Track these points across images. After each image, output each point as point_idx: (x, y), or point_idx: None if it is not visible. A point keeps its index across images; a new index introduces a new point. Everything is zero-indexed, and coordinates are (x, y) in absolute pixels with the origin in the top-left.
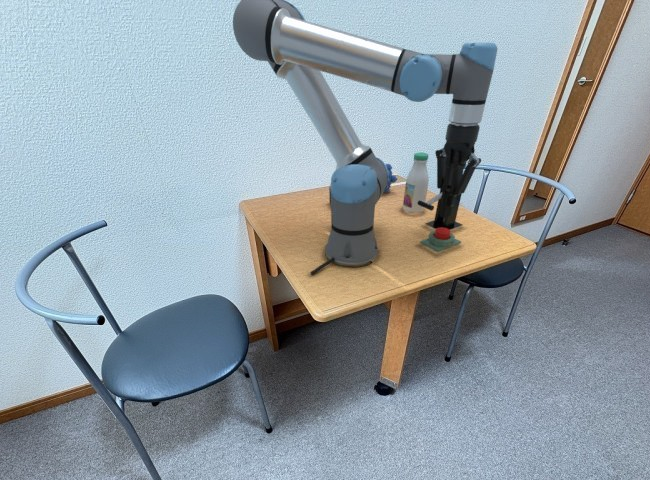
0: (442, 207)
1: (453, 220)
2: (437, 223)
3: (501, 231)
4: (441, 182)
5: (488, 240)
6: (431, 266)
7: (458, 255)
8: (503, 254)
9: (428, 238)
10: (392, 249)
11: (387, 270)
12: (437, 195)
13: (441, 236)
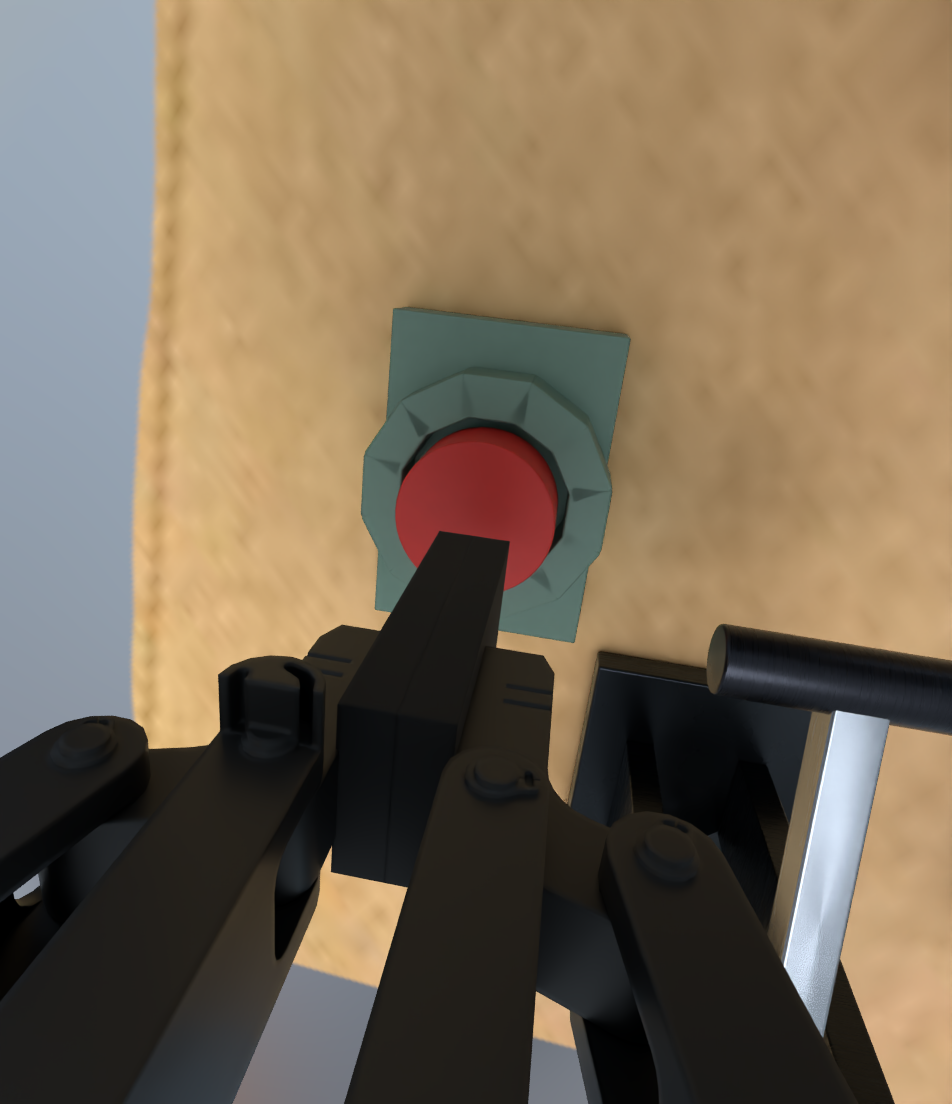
0: (472, 590)
1: None
2: (734, 778)
3: (350, 959)
4: (629, 973)
5: None
6: (311, 91)
7: (303, 456)
8: (143, 696)
9: (580, 413)
10: (800, 22)
11: None
12: (831, 950)
13: (439, 442)
